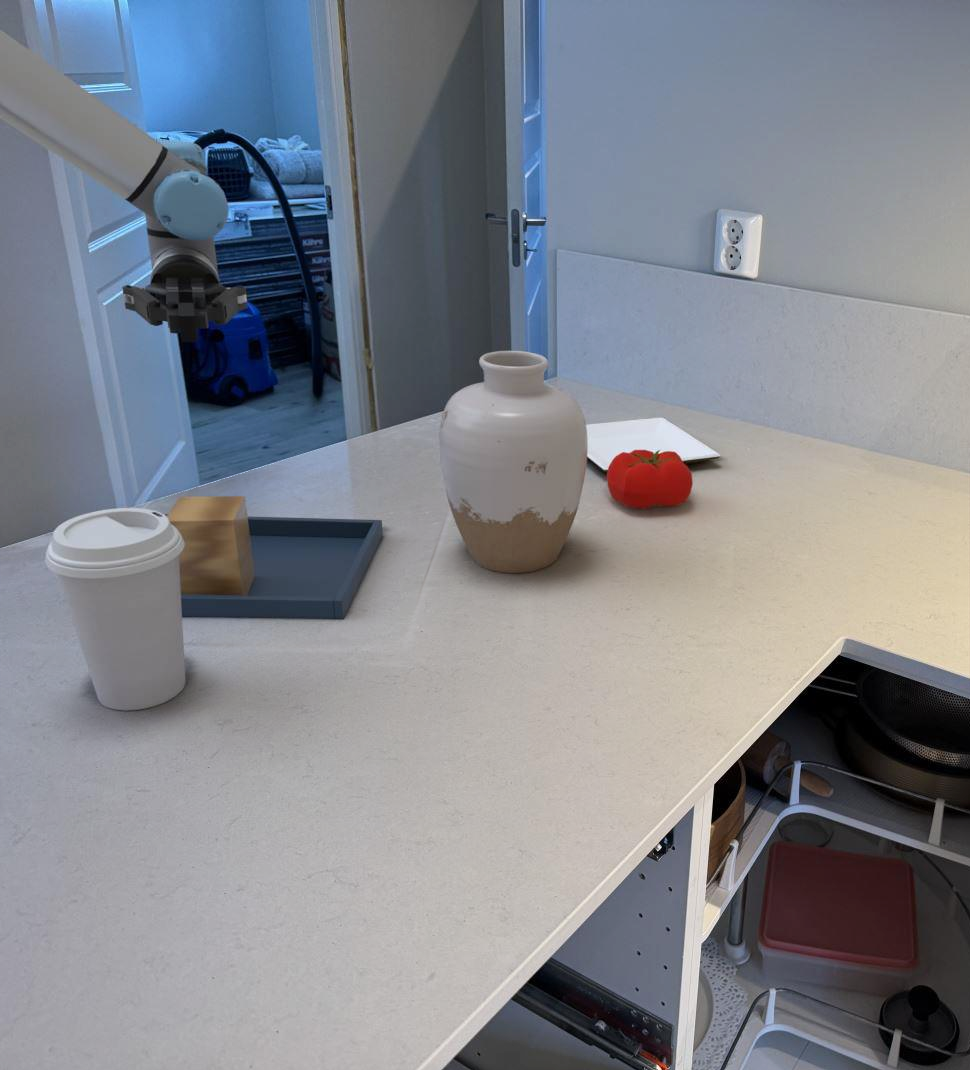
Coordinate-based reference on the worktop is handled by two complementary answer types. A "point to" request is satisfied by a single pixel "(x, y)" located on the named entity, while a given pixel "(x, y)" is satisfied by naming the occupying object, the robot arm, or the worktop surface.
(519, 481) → the vase
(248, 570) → the block
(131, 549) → the coffee cup
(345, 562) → the tray
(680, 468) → the tomato
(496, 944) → the worktop surface
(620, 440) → the plate
